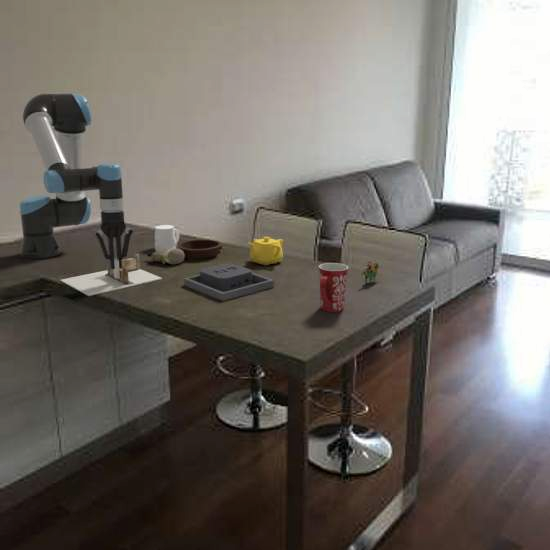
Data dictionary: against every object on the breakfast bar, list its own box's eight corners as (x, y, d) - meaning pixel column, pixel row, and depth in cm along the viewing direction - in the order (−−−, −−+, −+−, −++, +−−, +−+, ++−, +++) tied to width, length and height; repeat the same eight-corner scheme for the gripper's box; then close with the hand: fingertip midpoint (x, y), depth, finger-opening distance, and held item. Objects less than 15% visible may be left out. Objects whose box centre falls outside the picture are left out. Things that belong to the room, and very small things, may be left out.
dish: (234, 255, 249) (234, 243, 247) (189, 265, 235) (189, 252, 233) (209, 247, 261) (209, 236, 260) (165, 256, 247) (165, 244, 246)
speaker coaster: (184, 285, 210) (183, 278, 209) (234, 273, 224) (233, 266, 223) (222, 301, 194) (222, 293, 194) (273, 287, 208) (273, 280, 208)
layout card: (60, 280, 214) (60, 279, 214) (131, 266, 232) (131, 264, 232) (88, 296, 198) (88, 294, 198) (162, 279, 216) (162, 277, 216)
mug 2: (325, 301, 195) (326, 261, 191) (351, 306, 190) (353, 265, 186) (306, 313, 184) (307, 270, 180) (333, 318, 180) (335, 275, 176)
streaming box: (228, 276, 221) (228, 262, 220) (255, 285, 211) (255, 270, 210) (196, 284, 212) (196, 270, 210) (222, 294, 202) (222, 279, 200)
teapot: (280, 268, 230) (280, 242, 227) (247, 267, 232) (246, 241, 229) (284, 259, 243) (284, 234, 240) (252, 257, 245) (252, 232, 242)
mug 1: (161, 230, 250) (149, 227, 255) (162, 252, 252) (150, 248, 258) (184, 225, 258) (172, 222, 263) (184, 246, 261) (173, 243, 266)
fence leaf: (109, 275, 218) (108, 261, 217) (113, 274, 219) (112, 260, 218) (124, 283, 208) (123, 269, 207) (129, 282, 209) (128, 268, 208)
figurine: (381, 280, 216) (382, 258, 214) (363, 288, 208) (365, 265, 205) (373, 278, 218) (375, 256, 216) (356, 286, 209) (357, 264, 207)
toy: (144, 264, 238) (174, 266, 230) (143, 249, 237) (173, 251, 229) (161, 259, 246) (190, 261, 239) (160, 245, 245) (189, 246, 237)
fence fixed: (109, 276, 219) (108, 259, 217) (107, 275, 220) (105, 258, 218) (140, 270, 227) (139, 253, 225) (138, 269, 228) (137, 252, 227)
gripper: (94, 213, 198) (100, 282, 205) (134, 210, 204) (138, 277, 210) (90, 210, 205) (95, 277, 211) (128, 207, 210) (132, 272, 217)
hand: (117, 277), depth 211 cm, fingers closed
